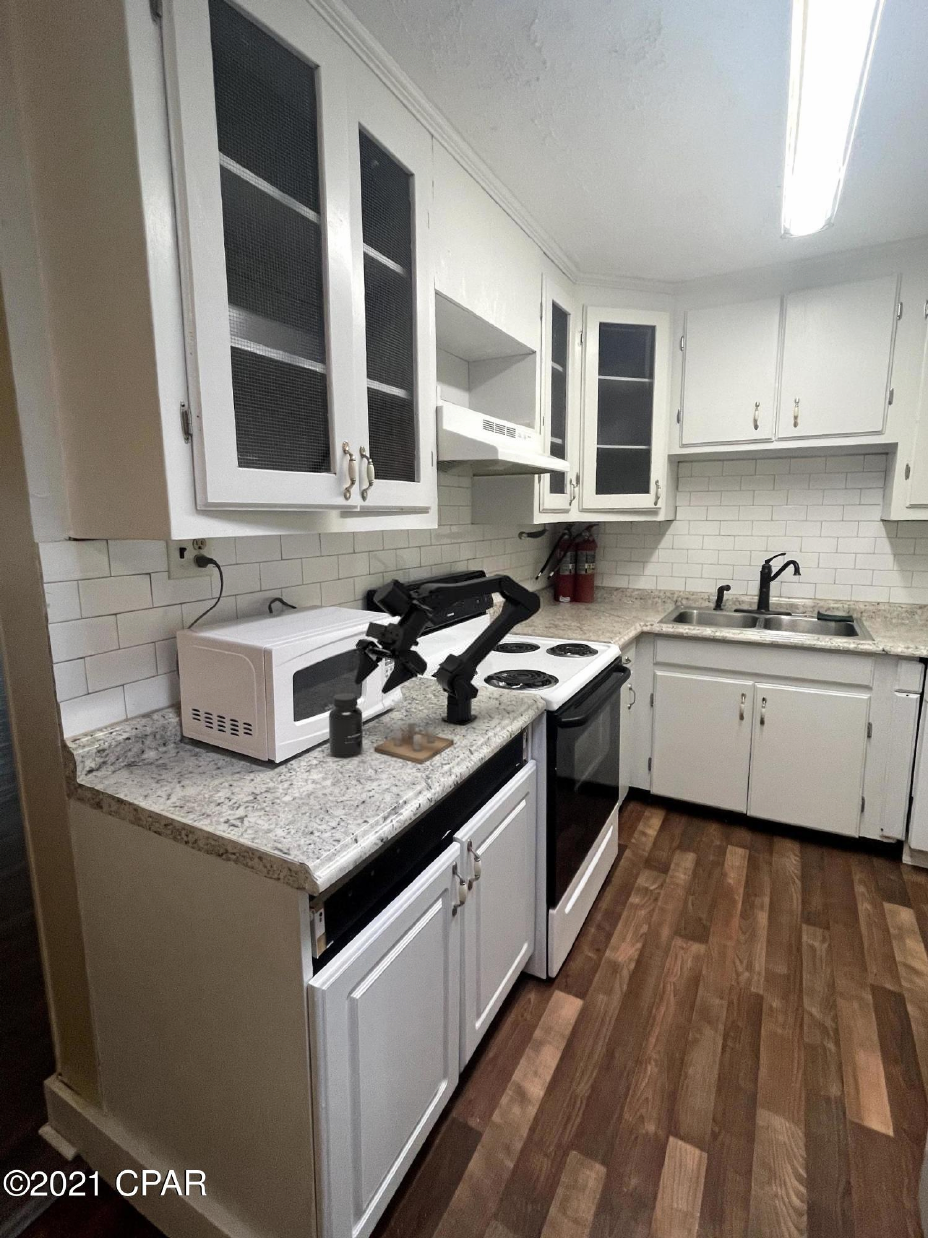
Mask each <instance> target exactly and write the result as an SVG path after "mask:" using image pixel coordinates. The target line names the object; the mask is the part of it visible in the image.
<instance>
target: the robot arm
mask: <svg viewBox="0 0 928 1238" xmlns="http://www.w3.org/2000/svg"><path fill="white" fill-rule="evenodd" d="M496 593H497V594H499V596H500V597H501V598H502V599H503V600H504V602H503V604H502V607H501V611H500V613H499V614H498V615H497V616H496V617H495V618H494V619H493V620H492V622H490V623H489V625H488V626H487V627H486V628H485V629H484V630H482V632H481V633H480V634H479V635H478V636H477V637H476V638H475V639H474V640H473V642H471V643H470V645H468V646H467V648H466V649H465V650H464V651H463V652H462V653H460V654H458V655H455V654H454V653H448V655H447V656H446V658H445V659H444V660H443V661H442V662H440V663H439V664H438V666H439V667H438V669H437V670H436V673H435V680H436V682H437V684H438V685H439V686H441V689H442V691H443V692H444V693H446V694H447V696H446V715H445V716H443V717H442V718H441V721H443V722H447V723H453V724H457V725H461V726H466V724H469V723H470V722H472V721H474V720H475V719H477V718H478V716H477V715H475V714H472V713H473V712H472V710H473V709H472V706H473V705H472V701H473V699H477V697H478V693H479V689H478V687H477V686H475V685H474V684H473V683H472V681H473V679H474V678H475V675H476V671H477V668H478V666H479V665H480V664H481V663H482V662H483V661H484V660H485V659H486V658H487V657H488V655H490V654H491V652H492V651H493V650H494V649H495V648H496V647H497V646H498V645H499V644H500V643H501V642H502V640H504V638H505V637H506V636H507V635H508V634H509V633H510V632H511V631H512V630H513V629H514V628H515V627H516V626H517V625H519V624H522V623H524V622H527V621H528V620H529V619H531V618H532V617H534V616H535V615H536V614H537V613H538V612H539V611H540V609H541V607H542V606H541V603H542V601H541V598H540V595H539V594H538V593H537V592H536V591H530V590H529V589H527V588H526V587H525V586H523V584H520V583H518V582H517V581H515V579H513V578H512V577H511V576H510V575H508V574H502V573H495V574H494V575H490V576H485V577H480V578H475V579H470V580H466V581H462V582H457V583H425V584H423V585H421V586H420V588H419V589H415V590H412V591H409V590H408V589H407V588H405V586H404V585H403V584H402V583H401V582H400V581H399V579H397V578H391V580H390V581H389V582H387V583H386V584H384V585H383V586H382V587H379V588H378V589H377V591H376V592H375V594H374V596H373V601H374V602H375V603H376V604H377V605H378V606H379V607H380V608H381V609H382V610H383V611H385V613H387V614H388V615H389V617H391V618H396V617H398V618H399V620H398V621H397V622H396V623H393V622H389V623H388V624H381V623H377V622H373V621H369V624H368V626H367V628H366V632H365V635H364V636H365V637H367V639H366V638H362V639H361V638H360V639H358V641H357V642H356V644H355V645H354V647H355V646H356V648H357V649H356V648H355V649H356V652H357V654H358V656H359V663H358V667H357V671H356V675H355V679H354V684H355V685H356V686H359V685H360V684H362V683H363V681H365V680H366V679H367V678H368V677H369V676H370V675H371V674H372V673H374V672H375V670H376V669H378V668H379V666H380V664H379V663H381V662H383V660H385V659H386V660H390V661H393V668H392V671H391V673H390V674H389V675H388V677H387V679H386V680H385V682H384V685H383V686H382V688H381V693H382V694H384V695H386V694H388V693H389V692H391V691H392V690H394V689H396V688H398V687H399V686H401V685H402V684H404V683H406V682H408V681H409V680H412V679H414V678H418V676H424V675H425V673H426V671H427V670H428V662H427V661H426V660H425V659H424V658H423V657H422V655H421V654H420V653H419V652H418V651H417V650H413V649H412V647H416V648H418V646H419V645H420V642H419V641H418V638H419V637H420V636H421V634H422V633H423V631H424V629H425V628H426V627H437V625H438V623H437V620H436V615H435V614H430V613H428V611H426V610H425V609H427V610H430V611H432V612H435V613H436V612H442V611H445V610H447V609H451V608H452V607H454V606H455V605H457V603H460V602H462V601H465V600H471V599H475V598H478V597H483V596H488V595H492V594H496ZM417 605H420V606H421V607H418V606H417ZM368 638H372V639H374V640H377V641H376V642H375V641H374V640H371V639H368Z"/></svg>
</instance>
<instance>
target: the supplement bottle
mask: <svg viewBox="0 0 928 1238" xmlns="http://www.w3.org/2000/svg"><path fill="white" fill-rule="evenodd" d="M332 706H333V708H332V709H331V710H330V711H329V713H328V734H329V736H328V737H329V753H330V754H331V755H332V756H334V757H337V758H351V757H355V756H358V755H360V754H361V752H362V751H363V747H364V743H363V742H364V739H363V737H364V735H363V732H364V729H363V711H362V710H361V708H360V707H358V696H357V694H355V693H338V694H335V695H334V696H333V705H332Z"/></svg>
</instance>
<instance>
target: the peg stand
mask: <svg viewBox="0 0 928 1238" xmlns="http://www.w3.org/2000/svg"><path fill="white" fill-rule="evenodd" d="M416 725H417V724H416V723H414V722H410V723H408V725H407V726H408V727H407V730H404V731H402V730H401V729H400V730H398V729H396V730H394V731H393V737H391V738H390V739H388V740H385V741H384V742H382V743H380V744H378V745H376V746H374V752H375V753H379V754H382V755H385V756H389V757H393V758H396V759H401V760H404V761H408V762H412V763H415V762H416V763H415V764H420V765H423V764H425V763H426V762H428V761H429V759H430V760H431V759H432V758H434V757H436V756H438V755H439V754H441V753H442V752H444V751H445V749H446V750H447V749H449V748H450V747H453V746H454V744H455V743H454V742H455V741H454V739H450V738H447V737H443V736H439V735H438V736H437V735H436V730H435V727H427V730H426V731H427V733H425V732H421V731H417V729H416V728H417V727H416ZM437 754H438V755H437ZM424 762H425V763H424Z"/></svg>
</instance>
